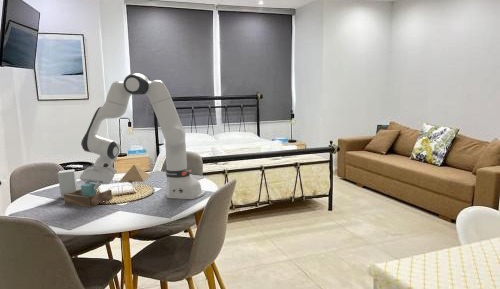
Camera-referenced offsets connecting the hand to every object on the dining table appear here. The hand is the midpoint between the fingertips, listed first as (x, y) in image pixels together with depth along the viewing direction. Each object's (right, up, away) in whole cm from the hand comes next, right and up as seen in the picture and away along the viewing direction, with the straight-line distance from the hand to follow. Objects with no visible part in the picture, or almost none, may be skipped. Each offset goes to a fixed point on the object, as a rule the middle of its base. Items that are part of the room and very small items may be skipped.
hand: (89, 189), depth 192 cm
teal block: (0, -6, +1) cm, 6 cm away
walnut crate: (0, -6, 0) cm, 7 cm away
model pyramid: (+9, 0, +47) cm, 48 cm away
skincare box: (-16, -6, +10) cm, 19 cm away
